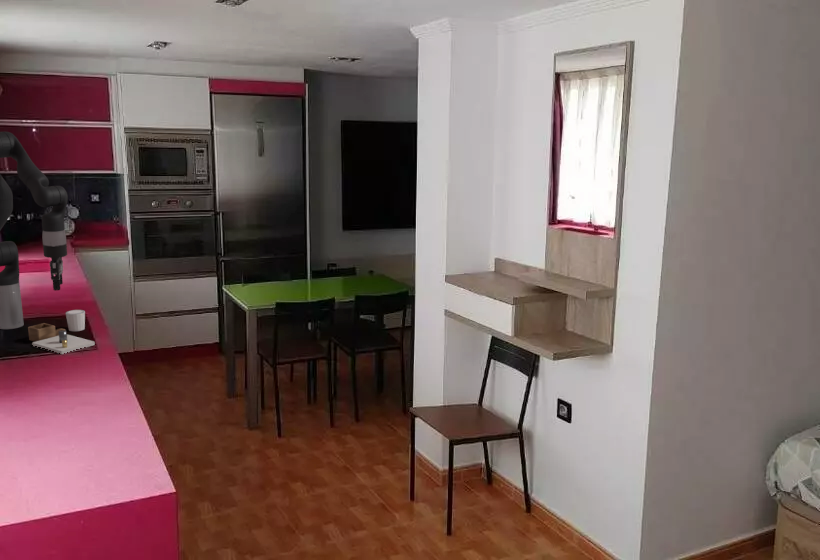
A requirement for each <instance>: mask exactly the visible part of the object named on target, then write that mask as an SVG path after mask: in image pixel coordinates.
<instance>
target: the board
mask: <svg viewBox="0 0 820 560" xmlns="http://www.w3.org/2000/svg"><path fill="white" fill-rule="evenodd" d="M95 344H96V343H95V341H94V340H90V339H85V338H82V337H77V336H75V335H72V334H67V348H62V343H60V342H59V336H55V337H51V338H48V339H44V340H40V341H36V342H34V341H32V343H31V345H33V346H32V347H35V346H37V347H36V348H38V347H41V348H40V349H42V348H45V349H48V350H47V351H49V350H51V351H50V352H52V351H54V352H53V353H55V352H57V353H56V354H59V353H60V355H64V353H65V354H67V352H68V353H71V352H70V351H72V352H74V351H73V350H75V351H77V350H76V349H79V350H81V349H80V348H82V349H85V348H84V347H86V348H89V347H92V346H95ZM45 349H44V350H45Z"/></svg>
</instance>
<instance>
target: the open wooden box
mask: <svg viewBox="0 0 820 560" xmlns="http://www.w3.org/2000/svg"><path fill="white" fill-rule="evenodd" d="M27 330H28V340H29V341H31V342H36V341H40V340H44V339H48V338H51V337H55V336H59V331H62V330H65V331H66V329H65V328H57V329H56V326H55V325H53V324H49V323H45V322H43V323H38V324H34V325H31V326H28V327H27Z"/></svg>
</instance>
